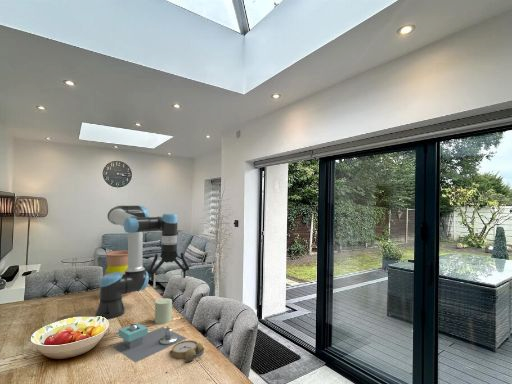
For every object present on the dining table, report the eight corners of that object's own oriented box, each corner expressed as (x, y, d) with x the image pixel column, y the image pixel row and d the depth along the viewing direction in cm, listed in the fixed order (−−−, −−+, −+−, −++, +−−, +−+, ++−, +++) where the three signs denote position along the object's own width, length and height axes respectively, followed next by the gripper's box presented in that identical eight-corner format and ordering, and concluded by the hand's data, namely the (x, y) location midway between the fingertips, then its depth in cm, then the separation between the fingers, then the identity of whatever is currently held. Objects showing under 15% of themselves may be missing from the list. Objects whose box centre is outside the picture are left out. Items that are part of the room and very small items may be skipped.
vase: (94, 298, 191) (96, 254, 192) (115, 289, 212) (117, 249, 214) (123, 300, 187) (124, 255, 189) (141, 290, 209) (143, 250, 210)
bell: (155, 341, 129) (156, 327, 130) (170, 335, 136) (170, 321, 136) (166, 346, 124) (166, 332, 125) (180, 340, 131) (180, 326, 131)
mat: (112, 348, 124) (112, 346, 124) (162, 328, 145) (162, 327, 145) (135, 364, 112) (135, 362, 112) (186, 340, 132) (187, 338, 132)
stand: (123, 344, 126) (123, 325, 126) (135, 339, 131) (136, 321, 131) (129, 348, 122) (130, 329, 123) (142, 343, 127) (143, 324, 128)
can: (166, 326, 147) (167, 303, 148) (151, 324, 149) (151, 302, 150) (174, 319, 156) (175, 298, 157) (160, 318, 158) (160, 296, 159)
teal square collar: (118, 336, 126) (118, 329, 126) (137, 329, 133) (137, 322, 133) (128, 342, 120) (128, 335, 121) (147, 334, 128) (147, 327, 128)
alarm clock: (183, 338, 128) (209, 340, 121) (185, 349, 127) (210, 352, 121) (165, 349, 118) (192, 352, 111) (166, 362, 117) (193, 365, 111)
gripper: (143, 246, 132) (142, 290, 131) (195, 243, 142) (194, 284, 141) (142, 244, 139) (141, 286, 138) (192, 241, 149) (191, 281, 148)
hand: (168, 285), depth 140 cm, fingers open, 13 cm apart
